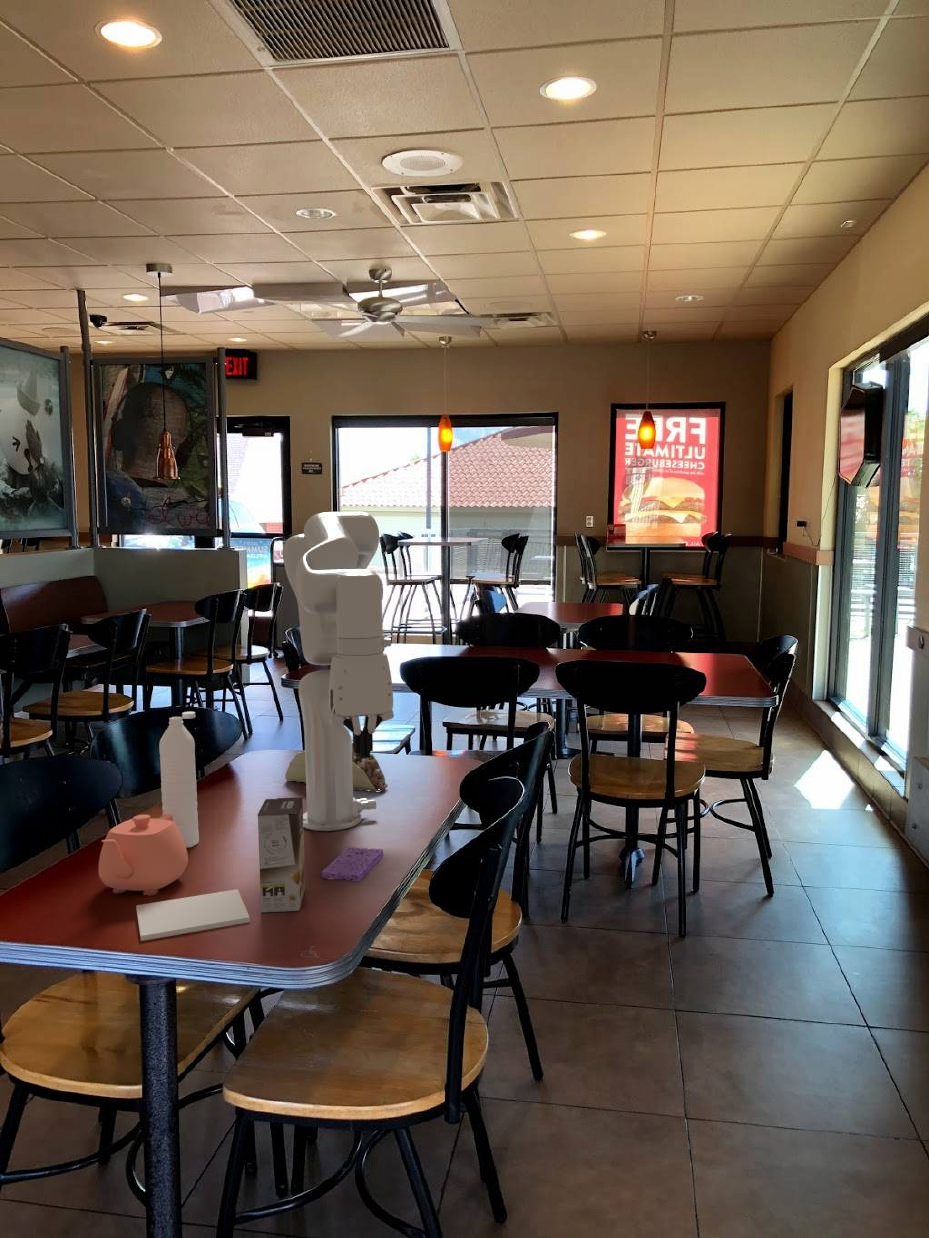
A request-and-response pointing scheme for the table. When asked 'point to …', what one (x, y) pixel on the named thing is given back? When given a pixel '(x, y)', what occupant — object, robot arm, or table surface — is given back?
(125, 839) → the teapot
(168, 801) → the water bottle
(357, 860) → the sponges
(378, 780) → the taco
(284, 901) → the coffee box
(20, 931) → the table surface
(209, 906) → the mat
